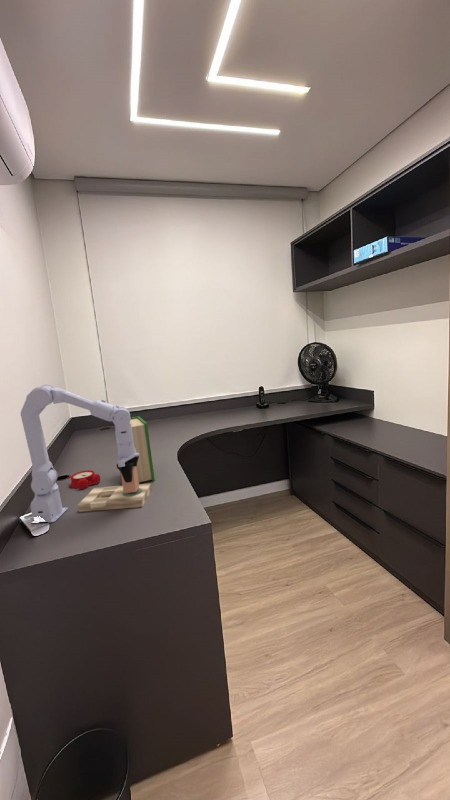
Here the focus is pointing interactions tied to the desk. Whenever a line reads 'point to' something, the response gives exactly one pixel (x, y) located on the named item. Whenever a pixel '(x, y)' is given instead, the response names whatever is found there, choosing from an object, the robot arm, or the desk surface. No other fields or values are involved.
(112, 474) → the desk surface
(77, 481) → the alarm clock
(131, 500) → the pocket board
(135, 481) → the peg
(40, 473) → the robot arm
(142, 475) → the hardback book
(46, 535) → the desk surface
